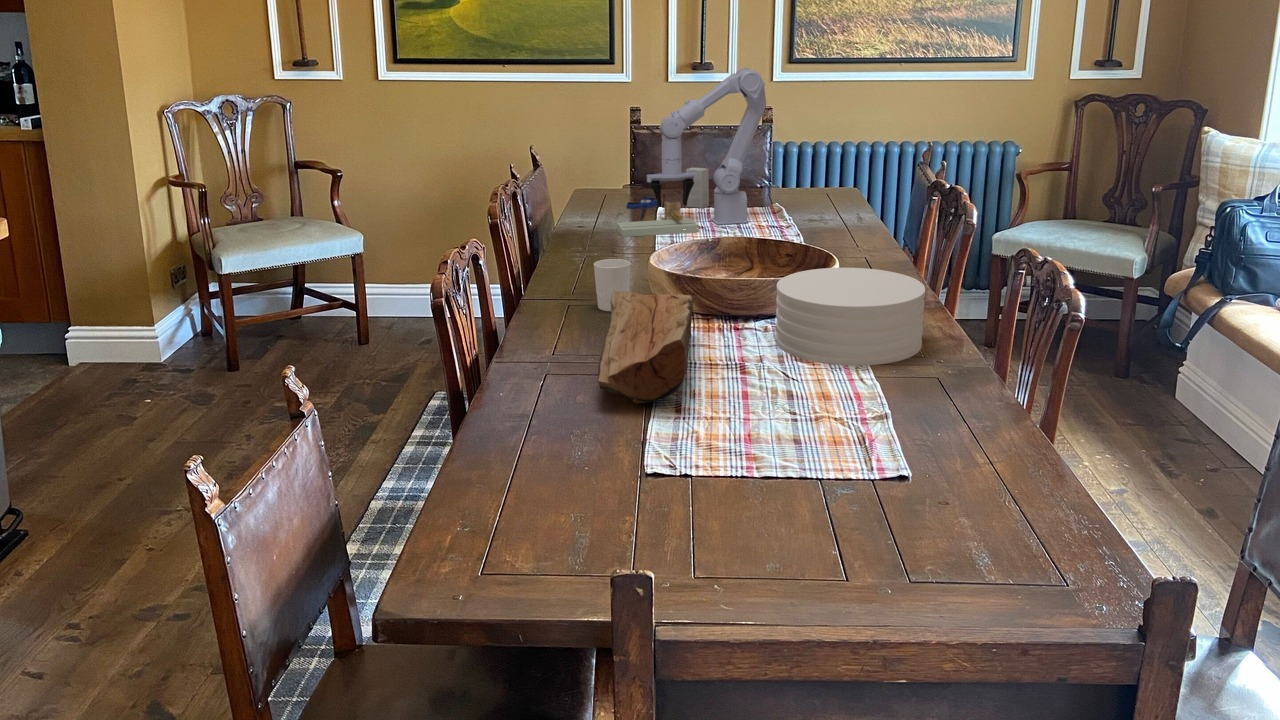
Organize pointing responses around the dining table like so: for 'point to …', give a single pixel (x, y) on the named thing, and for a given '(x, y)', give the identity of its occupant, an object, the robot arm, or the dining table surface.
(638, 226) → the board
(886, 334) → the plate stack
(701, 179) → the skincare box
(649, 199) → the bar clamp
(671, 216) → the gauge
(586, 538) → the dining table surface
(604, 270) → the white cup
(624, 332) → the log
